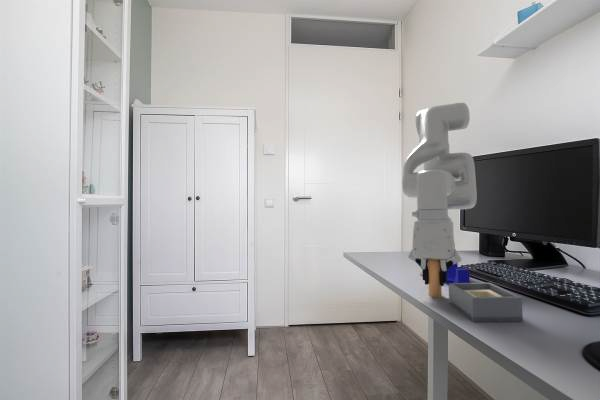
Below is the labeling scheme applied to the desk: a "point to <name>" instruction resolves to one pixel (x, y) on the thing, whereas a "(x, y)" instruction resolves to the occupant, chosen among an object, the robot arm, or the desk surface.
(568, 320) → the desk surface
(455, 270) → the cable clip
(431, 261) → the peg
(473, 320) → the box
